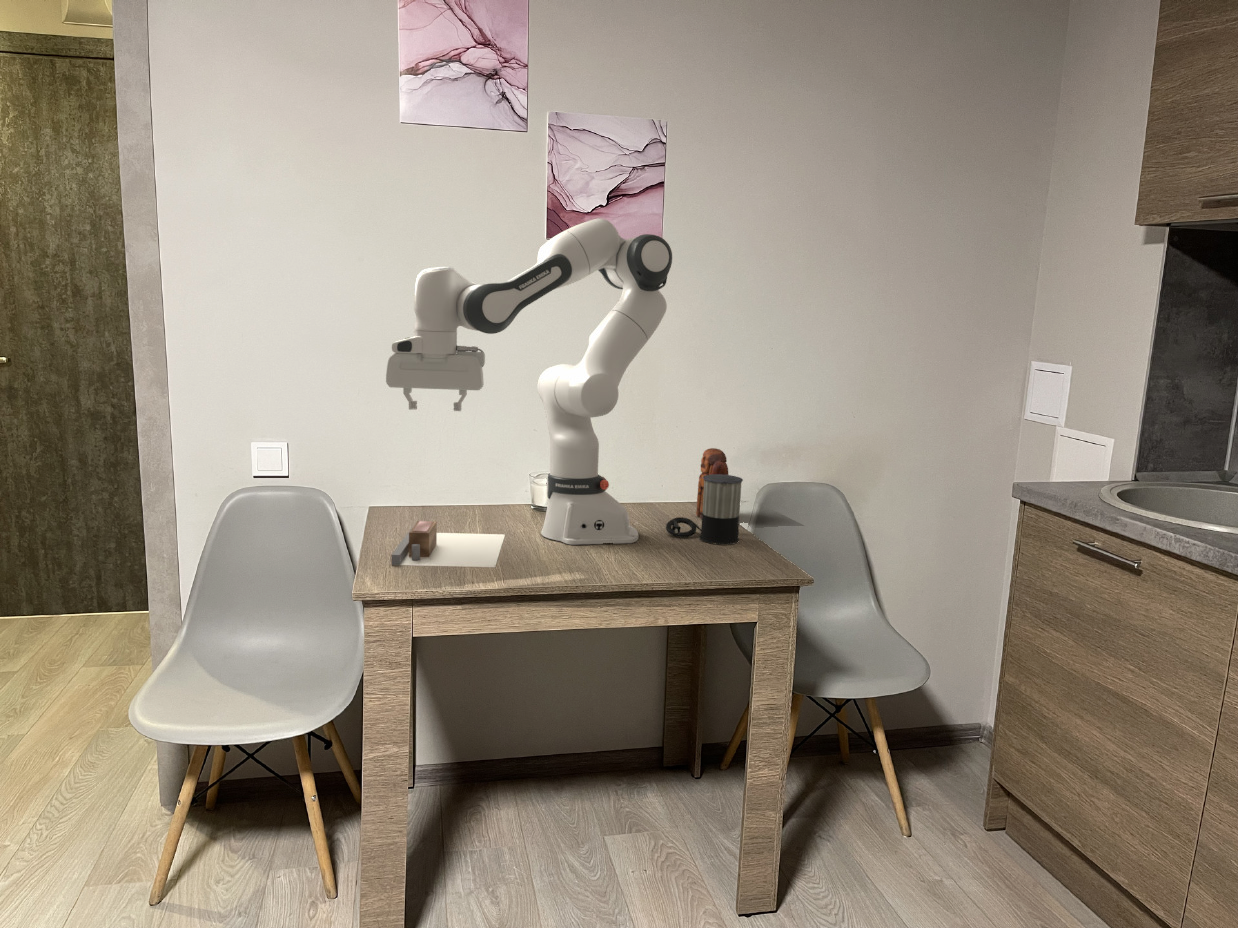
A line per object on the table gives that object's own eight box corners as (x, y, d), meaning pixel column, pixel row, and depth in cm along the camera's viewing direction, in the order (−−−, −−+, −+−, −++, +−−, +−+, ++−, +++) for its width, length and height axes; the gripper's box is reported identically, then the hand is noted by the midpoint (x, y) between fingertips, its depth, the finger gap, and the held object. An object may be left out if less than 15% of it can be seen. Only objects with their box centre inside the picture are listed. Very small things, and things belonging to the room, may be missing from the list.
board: (504, 539, 202) (505, 521, 201) (494, 573, 176) (495, 552, 175) (414, 537, 201) (414, 519, 200) (391, 570, 175) (391, 549, 174)
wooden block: (436, 544, 191) (436, 520, 190) (428, 557, 181) (429, 532, 180) (417, 543, 191) (417, 520, 190) (408, 556, 181) (408, 531, 180)
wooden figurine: (691, 513, 236) (694, 445, 233) (714, 512, 238) (717, 445, 235) (706, 523, 225) (710, 452, 222) (730, 523, 226) (734, 452, 223)
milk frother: (745, 545, 206) (749, 481, 203) (680, 547, 201) (683, 482, 199) (722, 530, 219) (726, 470, 217) (661, 531, 215) (663, 470, 212)
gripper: (486, 346, 193) (485, 410, 196) (390, 342, 192) (390, 407, 195) (483, 347, 187) (482, 413, 189) (384, 343, 186) (384, 410, 188)
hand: (435, 410), depth 192 cm, fingers open, 8 cm apart
